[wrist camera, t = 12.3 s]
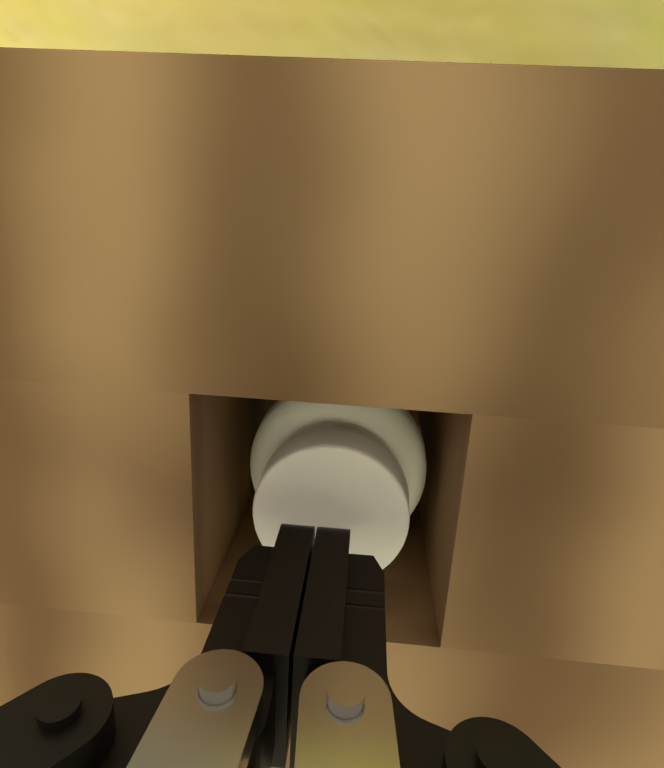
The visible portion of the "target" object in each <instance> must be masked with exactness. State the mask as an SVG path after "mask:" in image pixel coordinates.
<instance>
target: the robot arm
mask: <svg viewBox="0 0 664 768" xmlns="http://www.w3.org/2000/svg"><path fill="white" fill-rule="evenodd" d="M350 530H351V529H341V528H330V527H317V531H316V536H315V526H305V525H294V524H281V526H280V529H279V532H278V535H277V539H276V542H275V545H274V547H270V546H258V545H254V546H253V547H252V548H251V549H250V550H248V551H247V552H246V553H245V554H244V555H243V556H242V557H241V558H240V559H239V560H238V562H237V565H236V567H235V570H234V572H233V575H232V578H231V581H230V582H229V585H228V587H227V590H226V594H225V596H224V597H223V600H222V602H221V605H220V607H219V610H218V612H217V615H216V617H215V620H214V622H213V625H212V627H211V630H210V632H209V635H208V637H207V640H206V642H205V645H204V647H203V650H202V652H201V654H200V655H198V656H196V657H194V658H192V659H191V660H189V661H188V662H187V663H186V664H184V665H183V666H182V667H181V669H180V670H179V671H178V672H177V674H176V675H175V677H174V679H173V680H172V682H171V684H169V685H167V686H164V687H161V688H159V689H156V690H152V691H148V692H142V693H137V694H131V695H126V696H120V697H115V698H113V694H112V690H111V688H110V686H109V684H108V683H107V682H106V681H105V680H104V679H102V678H101V677H99V676H96V675H94V674H90V673H69V674H65V675H61V676H57V677H55V678H52V679H49V680H47V681H45V682H43V683H41V684H39V685H38V686H36V687H34V688H32V689H30V690H29V691H27V692H25V693H23V694H21V695H20V696H18V697H16V698H14V699H12V700H11V701H9V702H7V703H5V704H4V705H2V706H0V768H271V767H279V768H285V767H286V761H287V755H288V748H289V742H290V765H289V768H561V767H560V766H559V765H558V764H557V763H556V762H555V761H554V760H553V759H552V758H550V757H549V756H548V755H547V754H546V753H545V752H544V751H543V750H542V749H541V748H540V747H539V746H538V745H537V744H536V743H535V742H534V741H533V740H532V739H530V738H529V737H528V736H527V735H526V734H525V733H523V732H522V731H521V730H519V729H518V728H516V727H515V726H513V725H511V724H509V723H507V722H504V721H502V720H499V719H495V718H490V717H472V718H469V719H465V720H463V721H462V722H460V723H458V724H457V725H456V726H455V727H454V728H453V729H452V730H451V731H450V730H447V729H445V728H443V727H440V726H438V725H435V724H433V723H431V722H428V721H426V720H424V719H422V718H420V717H418V716H417V715H415V714H414V713H412V712H411V711H410V710H408V709H407V708H406V707H405V706H404V705H403V704H402V703H401V702H400V701H399V700H398V698H397V697H396V695H395V694H394V692H393V690H392V688H391V686H390V684H389V680H388V675H387V651H386V618H385V595H384V594H385V586H384V572H383V570H382V568H381V567H380V565H379V563H378V562H377V560H376V559H375V557H374V556H372V555H361V554H349V544H350ZM290 736H291V738H290Z"/></svg>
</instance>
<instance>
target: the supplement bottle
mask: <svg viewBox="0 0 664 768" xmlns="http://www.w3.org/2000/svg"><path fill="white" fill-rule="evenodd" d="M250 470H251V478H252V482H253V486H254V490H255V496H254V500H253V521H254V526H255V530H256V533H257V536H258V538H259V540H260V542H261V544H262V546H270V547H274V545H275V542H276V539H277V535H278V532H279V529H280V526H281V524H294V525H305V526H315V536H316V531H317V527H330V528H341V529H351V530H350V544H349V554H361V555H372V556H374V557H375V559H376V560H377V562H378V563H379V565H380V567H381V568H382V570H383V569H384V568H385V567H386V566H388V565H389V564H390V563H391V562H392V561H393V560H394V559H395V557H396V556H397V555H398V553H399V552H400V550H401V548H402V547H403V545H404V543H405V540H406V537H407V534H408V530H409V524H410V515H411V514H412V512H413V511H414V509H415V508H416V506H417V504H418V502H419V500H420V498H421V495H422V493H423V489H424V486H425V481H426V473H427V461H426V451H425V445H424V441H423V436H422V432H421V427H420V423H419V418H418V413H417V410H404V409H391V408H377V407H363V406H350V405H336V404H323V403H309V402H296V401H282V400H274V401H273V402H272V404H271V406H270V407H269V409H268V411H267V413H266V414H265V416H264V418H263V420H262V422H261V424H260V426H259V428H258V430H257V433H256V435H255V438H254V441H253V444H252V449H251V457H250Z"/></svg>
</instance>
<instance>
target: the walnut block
mask: <svg viewBox="0 0 664 768" xmlns="http://www.w3.org/2000/svg"><path fill="white" fill-rule="evenodd" d="M274 400H282V401H296V402H309V403H323V404H336V405H350V406H363V407H377V408H391V409H404V410H417V413H418V418H419V423H420V427H421V432H422V436H423V441H424V445H425V451H426V461H427V473H426V481H425V486H424V489H423V493H422V495H421V498H420V500H419V502H418V504H417V506H416V508H415V509H414V511H413V512H412V514H411V515H410V524H409V530H408V534H407V537H406V540H405V543H404V545H403V547H402V548H401V550H400V552H399V553H398V555H397V556H396V557H395V559H394V560H393V561H392V562H391V563H390V564H389V565H388V566H386V567H385V568H384V569H383V572H384V586H385V594H384V595H385V618H386V651H387V675H388V680H389V684H390V686H391V688H392V690H393V692H394V694H395V695H396V697H397V698H398V700H399V701H400V702H401V703H402V704H403V705H404V706H405V707H406V708H407V709H408V710H410V711H411V712H412V713H414V714H415V715H417V716H418V717H420V718H422V719H424V720H426V721H428V722H431V723H433V724H435V725H438V726H440V727H443V728H445V729H447V730H450V731H451V730H452V729H453V728H454V727H455V726H456V725H457V724H458V723H460V722H462V721H463V720H465V719H469V718H472V717H490V718H495V719H499V720H502V721H504V722H507V723H509V724H511V725H513V726H515V727H516V728H518V729H519V730H521V731H522V732H523V733H525V734H526V735H527V736H528V737H529V738H530V739H532V740H533V741H534V742H535V743H536V744H537V745H538V746H539V747H540V748H541V749H542V750H543V751H544V752H545V753H546V754H547V755H548V756H549V757H550V758H552V759H553V760H554V761H555V762H556V763H557V764H558V765H559V766H560V767H561V768H664V70H661V69H631V68H601V67H571V66H541V65H511V64H482V63H452V62H422V61H392V60H362V59H333V58H303V57H273V56H243V55H213V54H183V53H154V52H124V51H94V50H64V49H34V48H5V47H0V706H2V705H4V704H5V703H7V702H9V701H11V700H12V699H14V698H16V697H18V696H20V695H21V694H23V693H25V692H27V691H29V690H30V689H32V688H34V687H36V686H38V685H39V684H41V683H43V682H45V681H47V680H49V679H52V678H55V677H57V676H61V675H65V674H69V673H90V674H94V675H96V676H99V677H101V678H102V679H104V680H105V681H106V682H107V683H108V684H109V686H110V688H111V690H112V694H113V698H115V697H120V696H126V695H131V694H137V693H142V692H148V691H152V690H156V689H159V688H161V687H164V686H167V685H169V684H171V682H172V680H173V679H174V677H175V675H176V674H177V672H178V671H179V670H180V669H181V667H182V666H183V665H184V664H186V663H187V662H188V661H189V660H191V659H192V658H194V657H196V656H198V655H200V654H201V652H202V650H203V647H204V645H205V642H206V640H207V637H208V635H209V632H210V630H211V627H212V625H213V622H214V620H215V617H216V615H217V612H218V610H219V607H220V605H221V602H222V600H223V597H224V596H225V594H226V590H227V587H228V585H229V582H230V581H231V578H232V575H233V572H234V570H235V567H236V565H237V562H238V560H239V559H240V558H241V557H242V556H243V555H244V554H245V553H246V552H247V551H248V550H250V549H251V548H252V547H253V546H254V545H258V546H262V544H261V542H260V540H259V538H258V536H257V533H256V530H255V526H254V521H253V500H254V496H255V490H254V486H253V482H252V478H251V470H250V457H251V449H252V444H253V441H254V438H255V435H256V433H257V430H258V428H259V426H260V424H261V422H262V420H263V418H264V416H265V414H266V413H267V411H268V409H269V407H270V406H271V404H272V402H273V401H274ZM290 738H291V736H290ZM289 765H290V742H289V748H288V755H287V761H286V767H285V768H289ZM271 768H279V767H271Z"/></svg>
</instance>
